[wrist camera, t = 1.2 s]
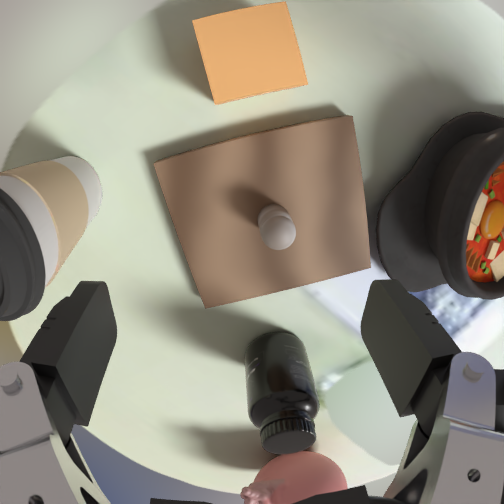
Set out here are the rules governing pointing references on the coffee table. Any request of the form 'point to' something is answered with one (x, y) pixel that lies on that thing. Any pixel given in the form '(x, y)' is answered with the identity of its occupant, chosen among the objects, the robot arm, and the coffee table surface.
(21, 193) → the coffee cup
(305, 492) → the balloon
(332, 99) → the coffee table surface
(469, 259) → the casserole
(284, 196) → the post stand
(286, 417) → the supplement bottle
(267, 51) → the peach cube
